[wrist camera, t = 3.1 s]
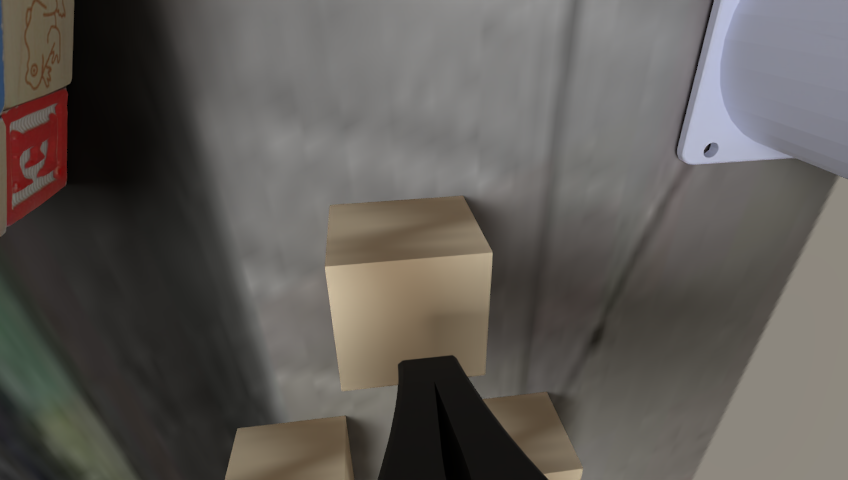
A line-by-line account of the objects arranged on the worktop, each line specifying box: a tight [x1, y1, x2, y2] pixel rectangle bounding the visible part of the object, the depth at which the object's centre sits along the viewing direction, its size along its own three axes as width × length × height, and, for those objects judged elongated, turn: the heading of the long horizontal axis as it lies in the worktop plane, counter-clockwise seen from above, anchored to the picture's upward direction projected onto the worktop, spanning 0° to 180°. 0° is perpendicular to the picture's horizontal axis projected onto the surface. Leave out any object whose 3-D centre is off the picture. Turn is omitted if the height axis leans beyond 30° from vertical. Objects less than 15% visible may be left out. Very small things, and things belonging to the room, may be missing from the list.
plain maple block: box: [325, 196, 493, 391], centre depth 16 cm, size 4×4×4 cm
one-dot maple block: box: [482, 392, 583, 480], centre depth 21 cm, size 4×4×4 cm
